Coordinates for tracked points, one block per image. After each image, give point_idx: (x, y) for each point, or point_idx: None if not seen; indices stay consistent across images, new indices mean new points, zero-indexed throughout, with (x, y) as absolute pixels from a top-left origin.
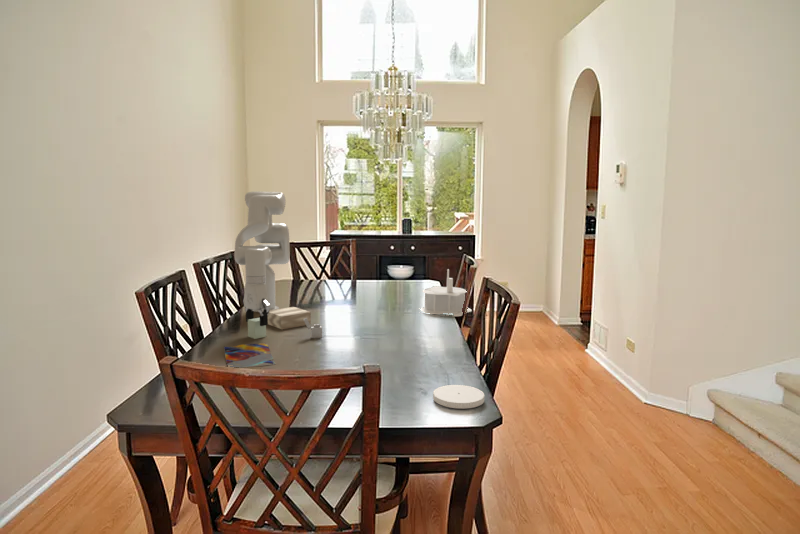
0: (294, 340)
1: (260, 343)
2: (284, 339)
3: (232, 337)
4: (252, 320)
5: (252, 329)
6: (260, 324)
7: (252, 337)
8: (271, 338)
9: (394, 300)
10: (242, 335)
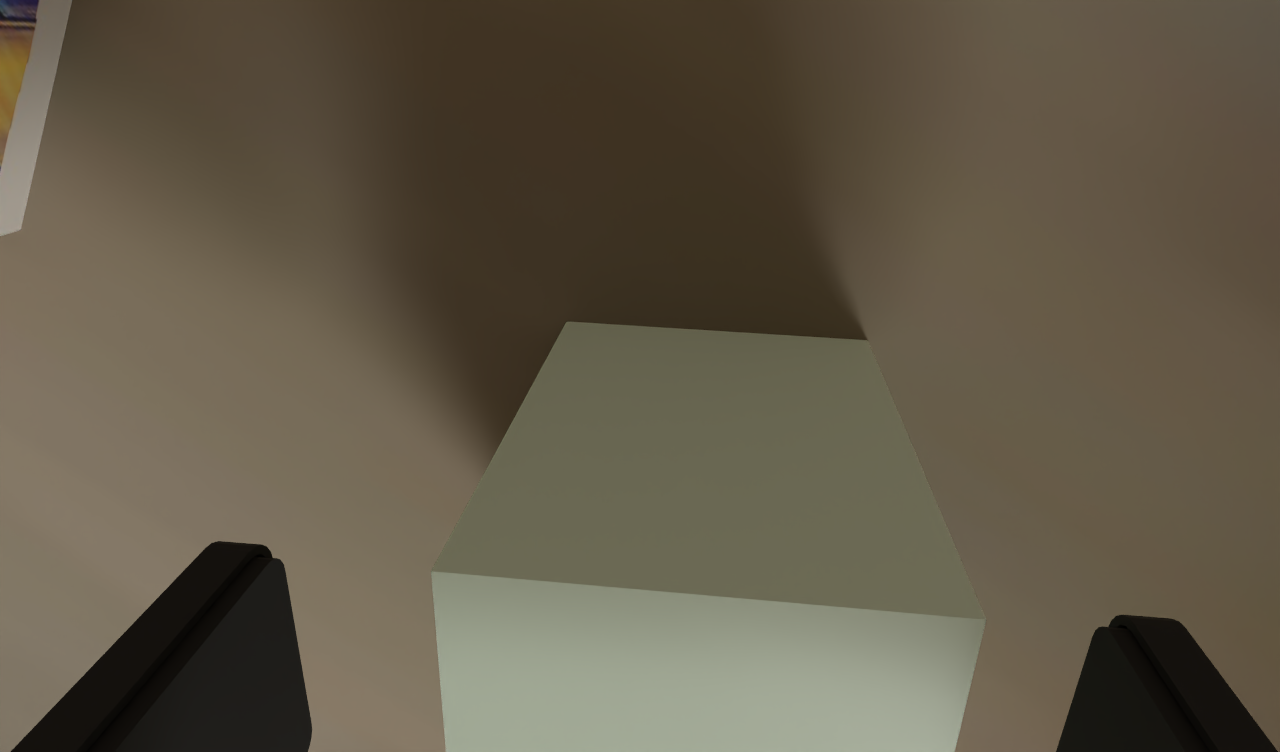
0: (53, 698)
1: (5, 108)
2: None
3: (1177, 38)
4: (687, 641)
5: (648, 424)
6: (199, 564)
7: (673, 336)
8: (405, 562)
9: None
10: (1098, 335)
